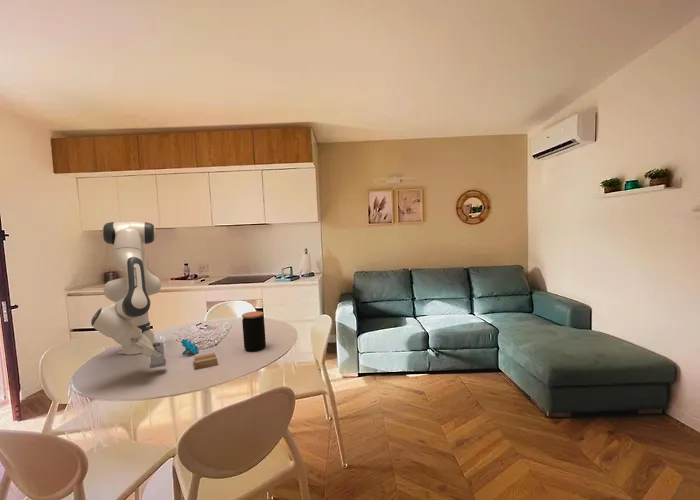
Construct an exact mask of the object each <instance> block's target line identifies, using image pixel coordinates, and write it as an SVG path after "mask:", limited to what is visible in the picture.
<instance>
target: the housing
mask: <svg viewBox="0 0 700 500" xmlns="http://www.w3.org/2000/svg"><path fill="white" fill-rule="evenodd" d="M152 345H153V347H154V349H155V350H156V351H157V352H159V353H161V356H160V357H159V358H158V357H156V356H154V355H151V356H150V357H149V358H150V362H149V369H150V370H151V369H155V368H161V367H165V366H166V365H167V358H166V359H165V350H164V349H165V348H164V342H163V341H162V342H158V341H157V343H153V344H152Z"/></svg>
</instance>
